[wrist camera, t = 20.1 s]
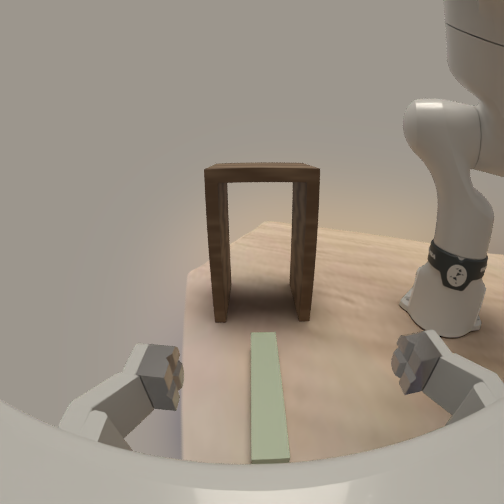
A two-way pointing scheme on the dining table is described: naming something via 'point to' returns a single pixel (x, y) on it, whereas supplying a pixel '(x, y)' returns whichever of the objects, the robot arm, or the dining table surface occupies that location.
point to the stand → (302, 226)
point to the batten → (267, 402)
